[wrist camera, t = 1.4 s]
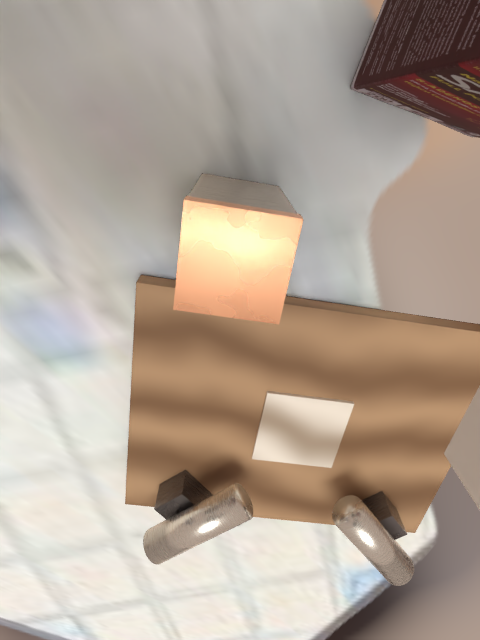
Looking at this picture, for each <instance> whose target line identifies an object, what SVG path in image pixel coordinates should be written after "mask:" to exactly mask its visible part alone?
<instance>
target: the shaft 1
mask: <svg viewBox="0 0 480 640" xmlns="http://www.w3.org/2000/svg"><path fill="white" fill-rule="evenodd" d="M154 509H155V510H156V511H157V512H158V513H159V514H161V515H162V516H163V517H164V518H165V519H167V520H165V521H163V522H161V523H159V524H157V525H155V526H153V527H152V528H150V529H148V530H147V531H146V532H145V535H144V539H143V545H144V550H145V553H146V555H147V557H148V559H149V560H150V561H151V562H152V563H154V564H161V563H163V562H165V561H167V560H169V559H171V558H173V557H175V556H177V555H179V554H181V553H183V552H185V551H187V550H189V549H191V548H193V547H195V546H197V545H199V544H201V543H204V542H206V541H208V540H210V539H212V538H214V537H216V536H218V535H220V534H222V533H224V532H226V531H228V530H230V529H232V528H234V527H236V526H238V525H240V524H242V523H244V522H246V521H248V520H250V519H252V517H253V505H252V502H251V499H250V497H249V495H248V493H247V491H246V490H245V488H244V487H243V486H242V485H241V484H239V483H235V484H233V485H231V486H229V487H227V488H226V489H224V490H222V491H220V492H218V493H216V494H214V495H213V494H212V493H211V492H210V491H208V490H207V489H206V488H205V487H204V486H203V485H202V484H201V483H200V482H199V481H198V480H197V479H195V478H194V477H193V476H192V475H191V474H190V473H189V472H188V471H187V470H186V469H185V470H184V471H182V472H180V473H178V474H177V475H175V476H173V477H171V478H169V479H168V480H166V481H164V482H162V483H160V484H159V489H158V494H157V499H156V503H155V508H154Z"/></svg>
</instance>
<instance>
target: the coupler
mask: <svg viewBox="0 0 480 640" xmlns="http://www.w3.org/2000/svg"><path fill="white" fill-rule="evenodd" d="M302 223H303V218H302V216H301V215H300V214H297V212H296V211H295V209H294V208H293V206H292V205H291V203H290V202H289V200H288V199H287V197H286V196H285V194H284V193H283V191H282V190H281V188H280V187H279V186H276V185H270V184H264V183H258V182H252V181H246V180H240V179H234V178H228V177H222V176H216V175H210V174H204V173H202V174H201V176H200V178H199V179H198V181H197V182H196V184H195V186H194V187H193V189H192V190H191V192H190V194H189V195H188V196H186V197H185V199H184V202H183V213H182V223H181V233H180V244H179V254H178V264H177V275H176V285H175V295H174V306H173V310H179V311H186V312H193V313H200V314H207V315H214V316H222V317H229V318H236V319H243V320H250V321H257V322H265V323H272V324H279V323H280V319H281V314H282V310H283V306H284V301H285V297H286V292H287V288H288V284H289V279H290V275H291V271H292V266H293V262H294V258H295V253H296V249H297V245H298V240H299V236H300V232H301V227H302Z"/></svg>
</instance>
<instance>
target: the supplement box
mask: <svg viewBox="0 0 480 640" xmlns="http://www.w3.org/2000/svg"><path fill="white" fill-rule="evenodd" d="M351 89H352V90H354V91H357V92H359V93H362V94H365V95H368V96H370V97H373V98H375V99H378V100H381V101H383V102H386V103H388V104H391V105H394V106H397V107H399V108H402V109H405V110H407V111H410V112H412V113H415V114H418V115H420V116H423V117H425V118H428V119H430V120H432V121H435V122H437V123H440V124H442V125H444V126H446V127H449V128H451V129H454V130H456V131H458V132H461V133H463V134H465V135H467V136H470V137H480V0H384V2H383V5H382V7H381V10H380V12H379V15H378V17H377V20H376V23H375V25H374V28H373V30H372V33H371V35H370V38H369V41H368V43H367V46H366V48H365V51H364V54H363V56H362V59H361V61H360V64H359V66H358V69H357V72H356V74H355V77H354V79H353V82H352V84H351Z"/></svg>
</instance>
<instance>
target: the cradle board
mask: <svg viewBox="0 0 480 640" xmlns="http://www.w3.org/2000/svg"><path fill="white" fill-rule="evenodd" d="M175 285H176V280H173V279H166V278H159V277H152V276H145V275H141V276H140V277H139V279H138V281H137V282H136V300H135V320H134V340H133V360H132V380H131V400H130V420H129V440H128V459H127V479H126V499H125V504H131V505H141V506H151V507H155V503H156V499H157V494H158V489H159V484H160V483H162V482H164V481H166V480H168V479H169V478H171V477H173V476H175V475H177V474H178V473H180V472H182V471H184V470H185V469H186V470H187V471H188V472H189V473H190V474H191V475H192V476H193V477H194V478H195V479H197V480H198V481H199V482H200V483H201V484H202V485H203V486H204V487H205V488H206V489H207V490H208V491H210V492H211V493H212V494H213V495H214V494H216V493H218V492H220V491H222V490H224V489H226V488H227V487H229V486H231V485H233V484H235V483H239V484H241V485H242V486H243V487H244V488H245V490H246V491H247V493H248V495H249V497H250V499H251V502H252V505H253V517H261V518H271V519H281V520H291V521H301V522H311V523H321V524H331V525H335V523H334V521H333V519H332V511H333V508H334V506H335V504H336V503H337V501H338V500H340V499H341V498H343V497H345V496H348V495H353V496H357V497H358V498H360V499H361V500H363V499H365V498H367V497H369V496H372V495H374V494H376V493H378V492H380V491H383V492H384V494H385V495H386V496H387V497H388V499H389V500H390V501H391V502H392V504H393V505H394V506H395V507H396V509H397V511H398V513H399V516H400V518H401V520H402V523H403V525H404V528H405V530H406V532H411V533H415V532H416V530H417V528H418V526H419V524H420V523H421V521H422V519H423V517H424V515H425V513H426V511H427V510H428V508H429V506H430V504H431V502H432V500H433V498H434V496H435V495H436V492H437V491H438V489H439V487H440V485H441V483H442V481H443V480H444V478H445V476H446V474H447V472H448V470H449V469H450V467H451V464H450V463H449V461H448V460H447V458H446V456H445V455H444V453H445V451H446V449H447V447H448V445H449V443H450V441H451V439H452V437H453V435H454V434H455V432H456V430H457V428H458V426H459V424H460V422H461V420H462V418H463V416H464V415H465V413H466V411H467V409H468V407H469V405H470V403H471V401H472V399H473V397H474V395H475V394H476V392H477V390H478V388H479V386H480V324H474V323H467V322H460V321H453V320H447V319H440V318H433V317H425V316H419V315H412V314H405V313H398V312H391V311H385V310H378V309H371V308H364V307H358V306H351V305H344V304H337V303H330V302H323V301H316V300H310V299H303V298H296V297H289V296H286V297H285V301H284V306H283V310H282V314H281V319H280V323H279V324H272V323H265V322H257V321H250V320H243V319H236V318H229V317H222V316H214V315H207V314H200V313H193V312H186V311H179V310H173V306H174V295H175Z"/></svg>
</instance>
